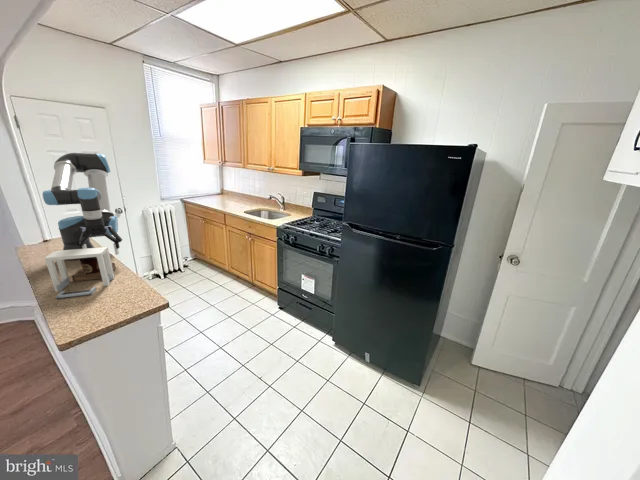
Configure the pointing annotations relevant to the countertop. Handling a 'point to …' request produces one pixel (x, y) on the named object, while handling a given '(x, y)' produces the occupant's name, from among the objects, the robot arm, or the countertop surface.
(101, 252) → the tunnel
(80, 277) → the wooden frame
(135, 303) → the countertop surface
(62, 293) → the grey flat piece
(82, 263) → the coffee cup
